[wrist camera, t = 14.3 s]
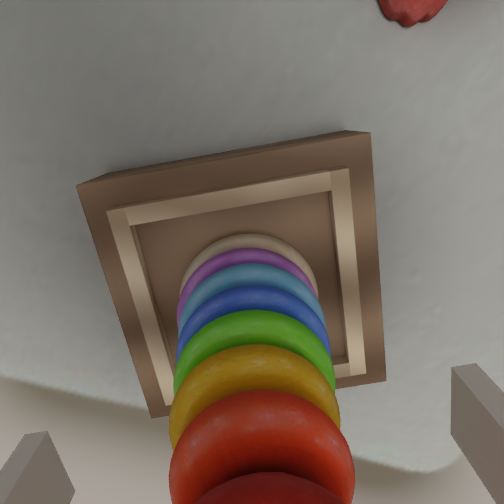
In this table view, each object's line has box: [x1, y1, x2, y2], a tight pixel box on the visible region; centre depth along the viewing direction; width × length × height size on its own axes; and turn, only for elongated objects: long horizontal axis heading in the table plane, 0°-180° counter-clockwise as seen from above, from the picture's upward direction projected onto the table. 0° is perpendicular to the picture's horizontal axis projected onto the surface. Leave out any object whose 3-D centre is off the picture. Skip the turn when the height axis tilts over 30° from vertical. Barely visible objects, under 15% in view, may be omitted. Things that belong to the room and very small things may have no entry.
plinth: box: [76, 130, 386, 418], centre depth 25 cm, size 16×16×6 cm
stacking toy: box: [169, 234, 355, 504], centre depth 14 cm, size 8×8×19 cm
